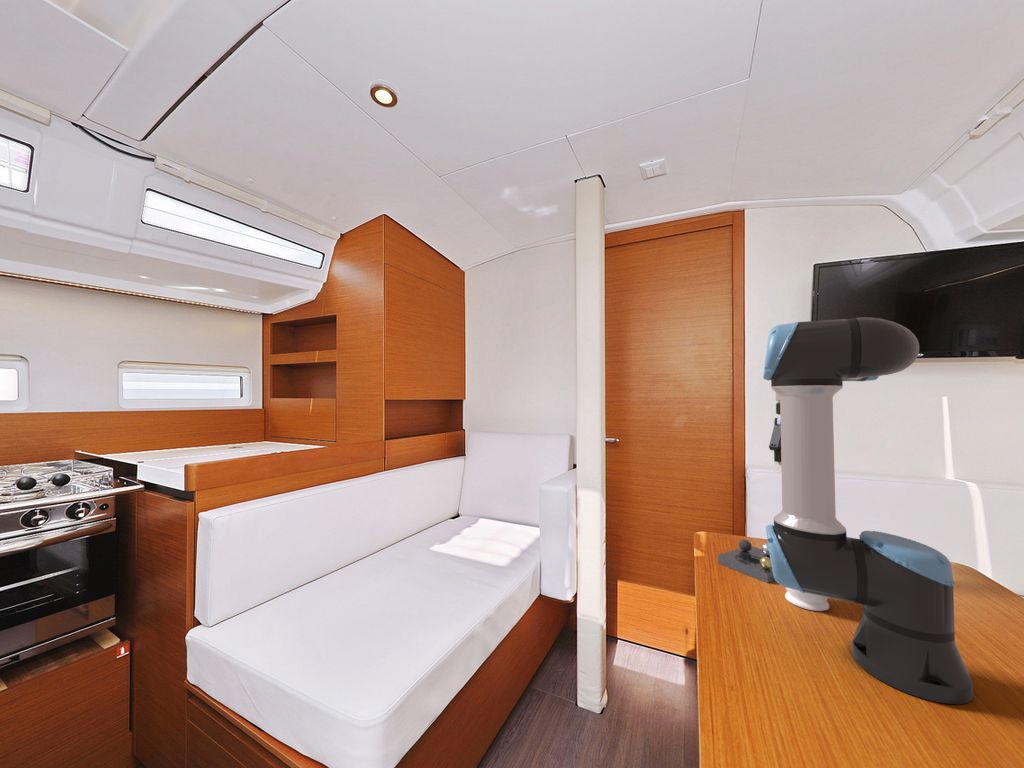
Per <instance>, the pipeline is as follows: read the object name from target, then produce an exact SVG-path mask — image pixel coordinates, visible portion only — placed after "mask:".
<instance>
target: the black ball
mask: <svg viewBox="0 0 1024 768" xmlns="http://www.w3.org/2000/svg"><path fill="white" fill-rule="evenodd" d="M752 546H753V545H752V543H751V542H750V541H749V540H747V539H740V540H739V542H738V547H739V549H741V550H743V551H746V552H747V551H750V550H751V548H752Z"/></svg>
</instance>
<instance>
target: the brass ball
mask: <svg viewBox="0 0 1024 768" xmlns="http://www.w3.org/2000/svg"><path fill="white" fill-rule="evenodd" d="M760 565H761V566H762V567H763V568H765V569H770V568H771V567H772V565H771V559H769V558H768V557H762V558H761V559H760Z"/></svg>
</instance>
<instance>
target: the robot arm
mask: <svg viewBox="0 0 1024 768" xmlns="http://www.w3.org/2000/svg"><path fill="white" fill-rule="evenodd" d="M768 333H769V334H768V338H767V348H766V354H765V361H764V368H763V376H762V378H763V380H765V381H770V382H771V383H770V384H771V387H770V388H771V390H773V391H774V392H775V401H776V403H775V414H777V415H779V416H780V417H775V418H774V421H773V422H774V425H773V429H772V434H771V438H770V441H769V444H768V448H769V451H773V466H774V467H773V470H774V471H773V472H774V473H778V474H781V501H782V502H781V503H782V504H781V505H782V506H781V507H782V510H781V511H780V512H778V513H777V514H776V515H774V517H773V524H769V525H766V526H765V534H766V539H767V543H768V547H769V553H770V559H771V565H772V571H773V575H774V578H775V582H776V583H777V584H778V585H779V586H781V587H784V588H785V587H787V588H790V589H794V590H798V591H800V592H802V593H805V592H806V593H810V594H815V595H820V596H824V597H829V598H830V599H833V600H839V601H843V602H848V603H852V604H858V605H862V616H861V619H860V621H859V623H858V626H857V627H856V630H855V631H854V633H853V637H852V638H851V656H852V657H853V659H854V661H855V662H856V663H857V665H858V666H859V667H861V668H862V669H863V670H865V672H867V673H868V674H869V675H871V676H873V677H874V678H876V679H877V680H879V681H881V682H883V683H884V684H886V685H889V686H890V687H893V688H895V689H896V690H900V691H901V692H903V693H906V694H909V695H913V696H915V697H918V698H920V699H924V700H927V701H932V702H936V703H942V704H948V705H963V704H967V703H970V702H971V701H972V700H973V698H974V691H973V690H974V689H973V688H974V687H973V679H972V678H971V675H970V673H969V671H968V668H967V667H966V664H965V662H964V660H963V657H962V655H961V653H960V651H959V649H958V646H957V643H956V633H955V632H956V631H955V630H956V629H955V627H956V626H955V603H954V597H955V596H954V587H955V585H956V584H955V583H956V582H955V581H954V575H953V569H952V568H953V567H952V564H951V561H950V560H949V558H948V557H947V556H946V555H945V554H943V553H942V552H940V551H939V550H938V549H935V548H933V547H931V546H928V545H926V544H924V543H921V542H919V541H916V540H913V539H910V538H907V537H904V536H900V535H896V534H891V533H887V532H884V531H883V532H882V531H876V530H873V531H872V530H864V531H861V532H860V535H858V536H859V538H856V537H848V536H847V528H846V527H845V525H843V524H842V523H841V522H840V521H839V520H838V519H837V516H836V515H837V514H836V513H837V511H836V509H837V508H836V480H835V479H836V478H835V477H836V475H835V443H834V442H835V438H834V437H835V435H834V402H833V401H834V398H833V397H834V396H835V395H836V394H837V393H838V392H839V391H840V390H842V389H843V388H844V387H843V385H844V382H867V381H876V380H877V379H879V377H880V376H881V377H882V376H889V375H893V374H896V373H899V372H902V371H904V370H906V369H907V368H909V367H910V366H911V365H913V364H914V362H916V360H917V358H918V355H919V353H920V343H919V340H918V338H917V337H916V335H915V334H914V333H913V332H912V331H911V330H910V329H909V328H907V327H905V326H904V325H902V324H900V323H897V322H895V321H891V320H887V319H883V318H877V317H865V316H863V317H855V318H844V319H843V318H842V319H825V320H823V319H822V320H811V321H796V322H791V323H785V324H777V325H775V326H773V327H772V328H771V329H770V331H769V332H768ZM829 598H828V599H829Z"/></svg>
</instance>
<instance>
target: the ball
mask: <svg viewBox="0 0 1024 768" xmlns="http://www.w3.org/2000/svg"><path fill="white" fill-rule="evenodd" d="M760 549H761V550H762V552H763V553H764V554H765V555H768V556H770V553H769V547H768V542H765V543H762V545H761V547H760Z"/></svg>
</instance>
